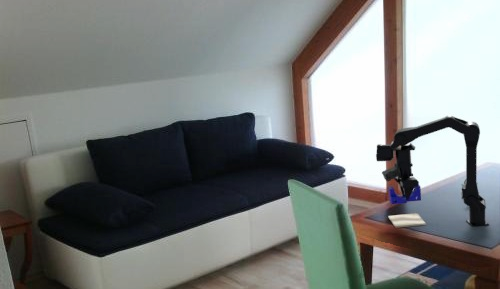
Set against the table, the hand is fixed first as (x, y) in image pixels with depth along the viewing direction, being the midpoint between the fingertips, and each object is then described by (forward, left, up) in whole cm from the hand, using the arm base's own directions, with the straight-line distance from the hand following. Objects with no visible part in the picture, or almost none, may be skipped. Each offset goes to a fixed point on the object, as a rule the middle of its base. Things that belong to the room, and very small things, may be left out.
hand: (405, 197), depth 208 cm
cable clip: (0, 0, -2) cm, 2 cm away
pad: (0, 0, -10) cm, 10 cm away
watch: (+17, -33, -10) cm, 38 cm away
